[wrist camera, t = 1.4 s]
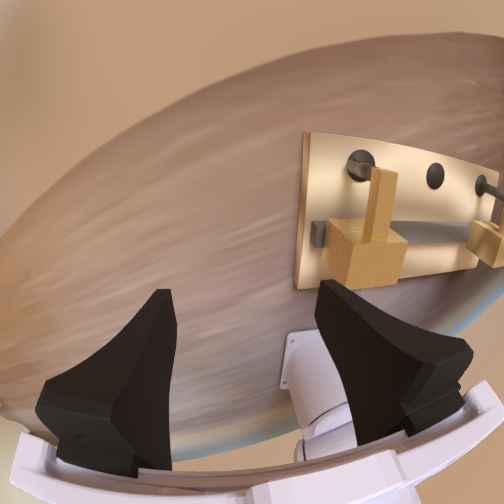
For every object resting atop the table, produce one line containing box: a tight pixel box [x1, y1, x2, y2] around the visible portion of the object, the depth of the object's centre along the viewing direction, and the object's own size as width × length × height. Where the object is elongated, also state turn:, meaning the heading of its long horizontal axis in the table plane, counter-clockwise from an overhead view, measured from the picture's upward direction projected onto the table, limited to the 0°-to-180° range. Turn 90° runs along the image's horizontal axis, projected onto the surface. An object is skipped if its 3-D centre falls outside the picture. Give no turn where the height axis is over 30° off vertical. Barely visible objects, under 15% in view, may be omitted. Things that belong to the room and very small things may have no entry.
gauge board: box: [293, 132, 504, 289], centre depth 19 cm, size 12×24×7 cm, turn 89°
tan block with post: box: [322, 159, 408, 290], centre depth 16 cm, size 7×4×5 cm, turn 179°
